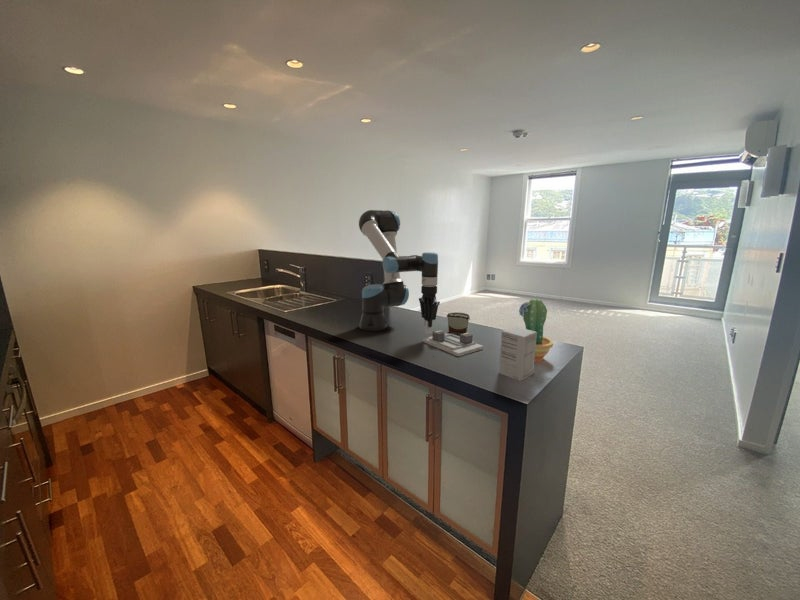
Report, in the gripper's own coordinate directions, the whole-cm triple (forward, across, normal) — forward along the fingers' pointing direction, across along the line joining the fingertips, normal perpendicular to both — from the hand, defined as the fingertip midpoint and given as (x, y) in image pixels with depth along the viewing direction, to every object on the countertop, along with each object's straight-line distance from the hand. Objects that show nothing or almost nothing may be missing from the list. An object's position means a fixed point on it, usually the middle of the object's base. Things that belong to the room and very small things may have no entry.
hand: (428, 332), depth 164 cm
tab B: (+2, +17, +8) cm, 19 cm away
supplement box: (+4, +49, +1) cm, 50 cm away
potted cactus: (+4, +43, +21) cm, 48 cm away
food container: (+4, -1, +22) cm, 22 cm away
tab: (+2, +7, 0) cm, 8 cm away
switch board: (+4, +12, +4) cm, 13 cm away
